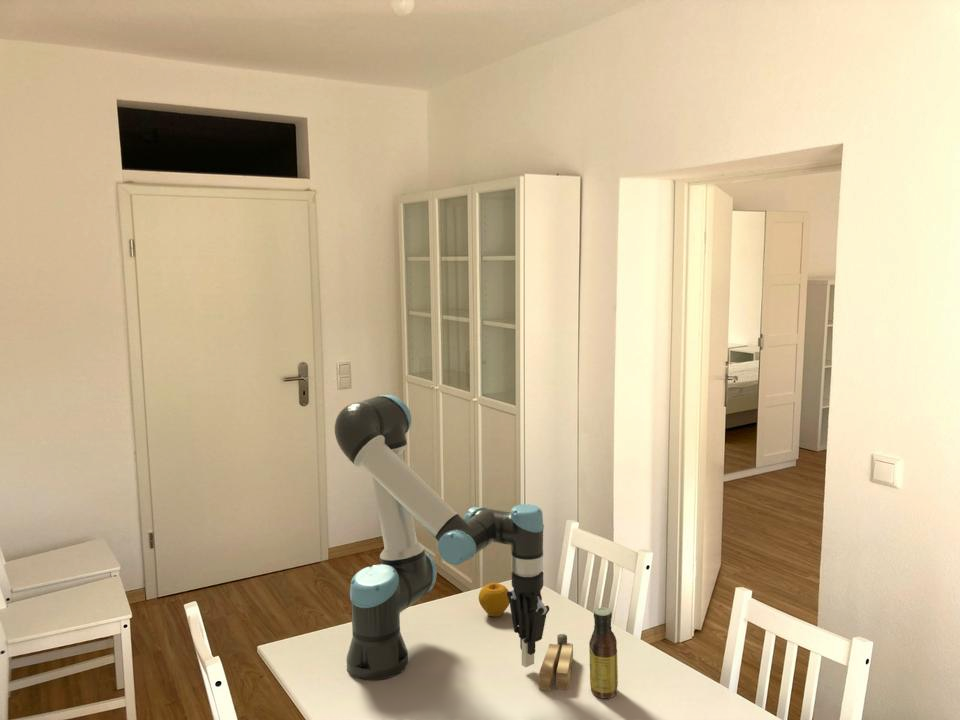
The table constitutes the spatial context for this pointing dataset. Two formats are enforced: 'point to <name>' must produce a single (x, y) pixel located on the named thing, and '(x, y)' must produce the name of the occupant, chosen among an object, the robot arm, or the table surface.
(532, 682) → the table surface
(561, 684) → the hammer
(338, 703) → the table surface
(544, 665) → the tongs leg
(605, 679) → the sauce bottle
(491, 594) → the apple
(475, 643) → the table surface
